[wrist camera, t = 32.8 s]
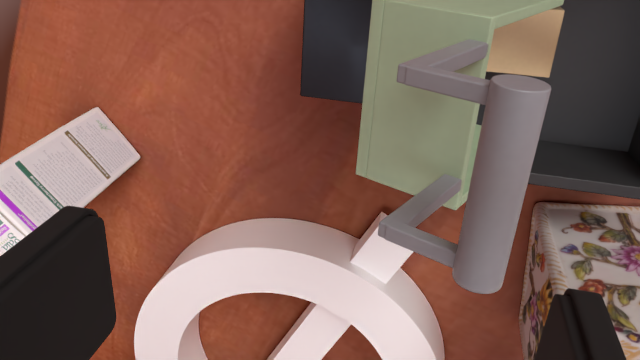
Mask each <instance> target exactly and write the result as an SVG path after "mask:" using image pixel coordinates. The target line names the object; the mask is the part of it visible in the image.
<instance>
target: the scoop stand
mask: <svg viewBox="0 0 640 360" xmlns="http://www.w3.org/2000/svg"><path fill="white" fill-rule="evenodd" d="M371 9H372V0H305V2H304V24H303V47H302V69H301V91H300V95H301V96H306V97H314V98H322V99H330V100H338V101H347V102H355V103H363V92H364V82H365V72H366V61H367V51H368V41H369V30H370V20H371Z"/></svg>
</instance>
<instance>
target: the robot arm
mask: <svg viewBox="0 0 640 360" xmlns="http://www.w3.org/2000/svg"><path fill="white" fill-rule="evenodd" d="M115 322H116V310H115V303H114V295H113V287H112V280H111V272H110V264H109V257H108V249H107V241H106V234H105V226H104V221H103V220H102V218H100V217H98V215H97V213H96V211H94V210H93V209H87V208H81V207H75V206H65V207H63V208H62V209H61V210H59V211H58V212H57V213H55V214H54V215H53V216H52V217H50V218H49V219H48V220H46V221H45V222H44V223H43V224H41V225H40V226H39V227H37V228H36V229H35V230H34V231H32V232H31V233H30V234H28V235H27V236H26V237H24V238H23V239H22V240H21V241H19V242H18V243H17V244H15V245H14V246H13V247H12V248H10V249H9V250H8V251H6V252H5V253H4V254H3V255H1V256H0V360H89V359H90V358H91V357H92V355H93V354H94V353H95V352H96V350H97V349H98V348H99V347H100V345H101V344H102V343H103V342H104V340H105V339H106V338H107V337H108V335H109V334H110V333H111V331H112V330H113V328H114V325H115ZM534 360H627V359H626V357H625V354H624V352H623V349H622V346H621V344H620V341H619V339H618V336H617V333H616V331H615V328H614V326H613V323H612V320H611V318H610V315H609V313H608V310H607V308H606V305H605V302H604V300H603V297H602V296H601V294H599V293H595V292H589V291H583V290H577V289H571V288H568V289H566V291H565V292H564V295H560V294H555V295H554V297H553V299H552V302H551V305H550V309H549V312H548V315H547V319H546V322H545V325H544V329H543V332H542V335H541V339H540V342H539V345H538V348H537V352H536V355H535V358H534Z"/></svg>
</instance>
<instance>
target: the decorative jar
mask: <svg viewBox="0 0 640 360" xmlns="http://www.w3.org/2000/svg"><path fill="white" fill-rule="evenodd" d="M568 288H571V289H577V290H583V291H589V292H595V293H599V294H601V296H602V297H603V300H604V302H605V305H606V308H607V310H608V313H609V315H610V318H611V320H612V323H613V326H614V328H615V331H616V333H617V336H618V339H619V341H620V344H621V346H622V349H623V352H624V354H625V357H626V359H627V360H640V207H635V206H615V205H614V206H612V205H590V204H588V205H585V204H569V203H551V202H539V203H536V204H535V206H534V208H533V214H532V221H531V230H530V237H529V244H528V253H527V259H526V266H525V274H524V282H523V291H522V300H521V307H520V314H519V326H520V335H521V342H522V350H523V358H524V360H534V358H535V355H536V352H537V348H538V345H539V342H540V339H541V335H542V332H543V329H544V325H545V322H546V319H547V315H548V312H549V309H550V305H551V302H552V299H553V297H554V295H555V294H560V295H564V292H565V291H566V289H568Z"/></svg>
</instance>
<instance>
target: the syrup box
mask: <svg viewBox="0 0 640 360" xmlns="http://www.w3.org/2000/svg"><path fill="white" fill-rule="evenodd" d="M140 158H141V157H140V155H139V154H138V153H137V151H136V150H135V149H134V148H133V146H132V145H131V144H130V143H129V142H128V140H127V139H126V138H125V137H124V136H123V135H122V133H121V132H120V131H119V130H118V129H117V128H116V127H115V125H114V124H113V123H112V122H111V121H110V120H109V119H108V118H107V116H106V115H105V114H104V113H103V112H102V111H101V110H100V108H99V107H95V108H93V109H91V110H90V111H88V112H86V113H84V114H83V115H81V116H79V117H77V118H76V119H74V120H72V121H70V122H69V123H67V124H65V125H64V126H62V127H60V128H59V129H57V130H55V131H54V132H52V133H50V134H49V135H47V136H45V137H44V138H42V139H40V140H39V141H37V142H36V143H34V144H32V145H31V146H29V147H27V148H26V149H24V150H23V151H21V152H19V153H18V154H16V155H15V156H13V157H11V158H10V159H8V160H7V161H5V162H3V163H2V164H0V256H1V255H3V254H4V253H5V252H6V251H8V250H9V249H10V248H12V247H13V246H14V245H15V244H17V243H18V242H19V241H21V240H22V239H23V238H24V237H26V236H27V235H28V234H30V233H31V232H32V231H34V230H35V229H36V228H37V227H39V226H40V225H41V224H43V223H44V222H45V221H46V220H48V219H49V218H50V217H52V216H53V215H54V214H55V213H57V212H58V211H59V210H61V209H62V208H63V207H65V206H75V207H81V208H84V207H85V206H86V205H87V204H89V203H90V202H91V201H92V200H93V199H94V198H96V197H97V196H98V195H99V194H100V193H101V192H102V191H104V190H105V189H106V188H107V187H108V186H109V185H111V184H112V183H113V182H114V181H115V180H116V179H118V178H119V177H120V176H121V175H122V174H124V173H125V172H126V171H127V170H128V169H129V168H130V167H132V166H133V165H134V164H135V163H136V162H137V161H138V160H139V159H140Z"/></svg>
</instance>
